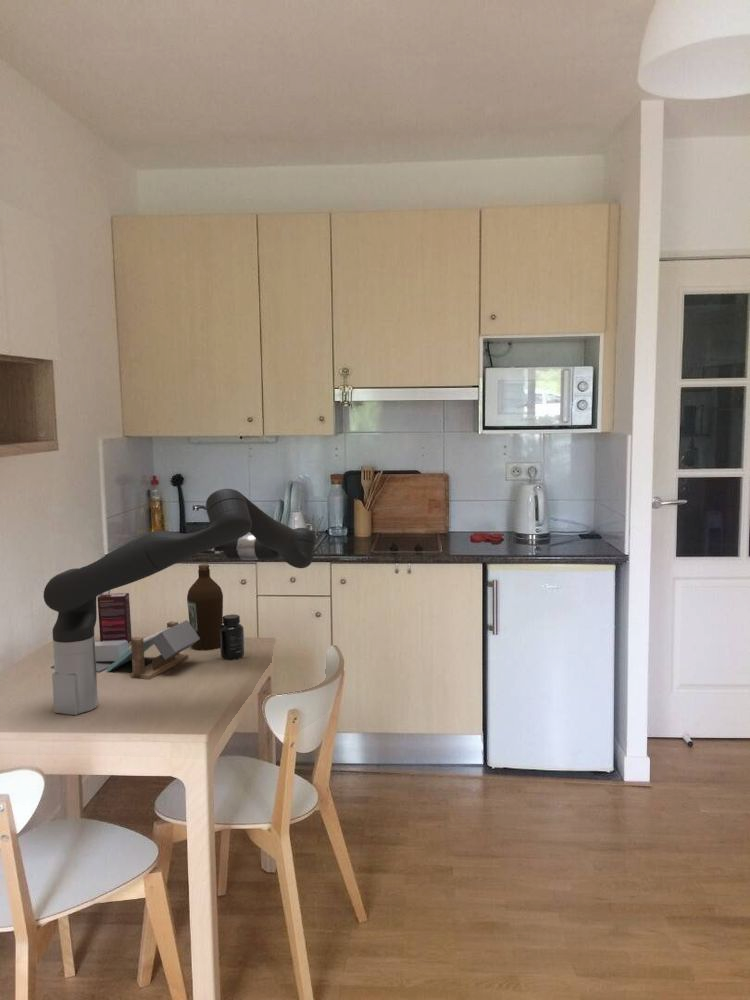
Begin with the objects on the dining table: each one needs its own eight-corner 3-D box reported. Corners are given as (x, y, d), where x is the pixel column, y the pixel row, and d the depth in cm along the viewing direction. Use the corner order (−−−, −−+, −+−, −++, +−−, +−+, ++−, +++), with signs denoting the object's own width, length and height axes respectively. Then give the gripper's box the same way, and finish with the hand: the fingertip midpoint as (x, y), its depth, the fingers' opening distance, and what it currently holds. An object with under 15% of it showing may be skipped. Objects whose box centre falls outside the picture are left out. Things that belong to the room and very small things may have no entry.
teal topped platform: (201, 638, 218) (184, 614, 219) (174, 652, 204) (156, 627, 205) (152, 677, 224) (136, 653, 225) (122, 693, 211) (105, 668, 212)
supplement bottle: (216, 656, 224) (214, 616, 222) (237, 651, 228) (235, 612, 227) (228, 661, 218) (226, 620, 217) (249, 656, 223) (247, 616, 222)
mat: (99, 672, 211) (99, 671, 211) (51, 667, 216) (51, 666, 216) (134, 655, 226) (134, 654, 226) (88, 651, 231) (88, 650, 231)
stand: (188, 658, 223) (186, 622, 222) (149, 679, 204) (148, 640, 203) (170, 656, 224) (168, 621, 223) (130, 677, 206) (128, 639, 205)
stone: (118, 645, 215) (75, 646, 219) (120, 660, 216) (77, 661, 220) (127, 640, 220) (85, 642, 224) (129, 656, 220) (87, 657, 224)
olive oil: (219, 639, 242) (215, 560, 239) (229, 647, 233) (226, 565, 230) (185, 644, 237) (181, 564, 234) (194, 653, 228) (190, 569, 225)
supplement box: (132, 642, 240) (129, 592, 239) (128, 646, 235) (125, 595, 234) (104, 643, 240) (101, 593, 238) (99, 647, 235) (96, 596, 233)
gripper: (256, 528, 216) (204, 527, 221) (231, 536, 202) (177, 534, 207) (257, 555, 217) (205, 553, 221) (232, 564, 203) (179, 562, 208)
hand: (192, 544), depth 214 cm, fingers open, 8 cm apart
